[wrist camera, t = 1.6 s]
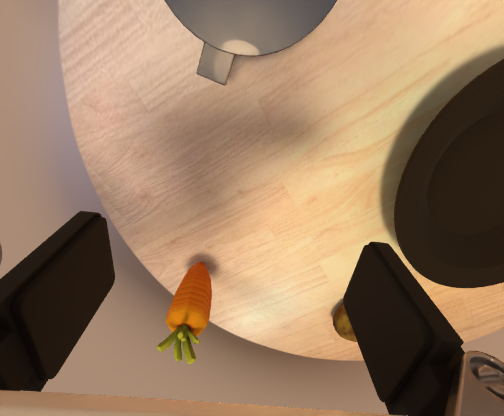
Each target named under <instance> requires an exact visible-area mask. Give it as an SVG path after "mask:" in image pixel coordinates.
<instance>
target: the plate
mask: <svg viewBox="0 0 504 416" xmlns="http://www.w3.org/2000/svg"><path fill="white" fill-rule="evenodd" d="M394 223H395V232H396V237H397V240H398V243H399V246H400V248H401V251H402V253H403V254H404V256H405V257H406V259H407V260H408V262H409V263H410V264H411V265H412V266H413V268H414V269H415V270H416V271H418V272H419V273H420V274H421V275H423V276H424V277H425V278H427V279H429V280H431V281H433V282H435V283H438V284H441V285H445V286H449V287H456V288H477V287H485V286H490V285H495V284H499V283H503V282H504V59H503V60H501V61H500V62H498V63H496V64H495V65H493V66H491V67H490V68H489V69H487V70H486V71H484V72H483V73H482V74H480V75H479V76H477V77H476V78H475V79H474V80H472V81H471V82H470V83H469V84H468V85H466V86H465V87H464V88H463V89H462V90H461V91H460V92H459V93H458V94H457V95H455V96H454V97H453V98H452V99H451V100H450V101H449V103H448V104H447V105H446V106H445V107H444V108H443V109H442V110H441V111H440V112H439V114H438V115H437V116H436V117H435V119H434V120H433V121H432V122H431V124H430V125H429V127H428V128H427V129H426V131H425V132H424V134H423V135H422V137H421V138H420V140H419V142H418V143H417V145H416V147H415V148H414V150H413V152H412V154H411V156H410V158H409V160H408V162H407V165H406V167H405V169H404V172H403V174H402V177H401V181H400V184H399V187H398V191H397V196H396V202H395V211H394Z"/></svg>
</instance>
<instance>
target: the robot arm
mask: <svg viewBox="0 0 504 416" xmlns="http://www.w3.org/2000/svg"><path fill="white" fill-rule="evenodd" d="M114 280H115V273H114V267H113V260H112V254H111V247H110V240H109V234H108V228H107V221H106V219H105V218H103V217H102V216H101V214H99V213H95V212H85V211H80V212H79V213H77V214H76V215H75V216H74V217H73V218H71V219H70V220H69V221H68V222H67V223H65V225H63V226H62V227H61V228H60V229H59V230H57V231H56V232H55V233H54V234H53V235H52V236H50V237H49V238H48V239H47V240H46V241H45V242H43V243H42V244H41V245H40V246H39V247H38V248H36V249H35V250H34V251H33V252H32V253H30V254H29V255H28V256H27V257H26V258H24V259H23V260H22V261H21V262H20V263H19V264H17V265H16V266H15V267H14V268H13V269H12V270H10V271H9V272H8V273H7V274H6V275H5V276H3V277H2V278H1V279H0V416H400V415H403V416H407V415H408V416H504V363H503V362H501V361H500V360H498V359H497V358H495V357H493V356H491V355H488V354H486V353H483V352H479V351H468V352H467V353H465V352H464V351H463V349H462V348H461V345H462V344H463V343H464V342H463V341H462V339H461V338H460V337H459V335H458V334H457V333H456V331H455V330H454V329H453V327H452V326H451V325H450V323H449V322H448V321H447V320H446V318H445V317H444V316H443V314H442V313H441V312H440V310H439V309H438V308H437V306H436V305H435V304H434V303H433V301H432V300H431V299H430V297H429V296H428V295H427V293H426V292H425V291H424V289H423V288H422V287H421V285H420V284H419V283H418V282H417V280H416V279H415V278H414V276H413V275H412V274H411V272H410V271H409V270H408V268H407V267H406V266H405V265H404V263H403V262H402V261H401V259H400V258H399V257H398V255H397V254H396V253H395V251H394V250H393V249H392V247H391V246H390V245H389V244H387V243H380V242H370V243H369V244H368V245H365V246H364V248H363V250H362V252H361V255H360V257H359V260H358V262H357V265H356V267H355V270H354V272H353V275H352V277H351V280H350V282H349V285H348V287H347V290H346V293H345V295H344V298H343V304H344V308H345V311H346V313H347V316H348V319H349V321H350V324H351V326H352V329H353V332H354V334H355V337H356V340H357V342H358V345H359V347H360V350H361V353H362V355H363V358H364V361H365V363H366V365H367V368H368V371H369V374H370V376H371V379H372V382H373V384H374V387H375V389H376V392H377V395H378V397H379V399H380V400H381V401H382V402H385V404H386V407H387V409H388V412H389V414H377V413H363V412H348V411H335V410H321V409H307V408H293V407H278V406H264V405H248V404H233V403H218V402H201V401H188V400H172V399H156V398H138V397H122V396H106V395H90V394H89V395H88V394H72V393H52V392H41V390H42V389H43V387H44V385H45V384H46V382H47V381H48V379H53V378H54V377H55V376H56V375H57V373H58V372H59V370H60V369H61V367H62V365H63V364H64V362H65V361H66V359H67V358H68V356H69V354H70V353H71V351H72V349H73V348H74V346H75V345H76V343H77V341H78V340H79V338H80V337H81V335H82V334H83V332H84V331H85V329H86V327H87V326H88V324H89V322H90V321H91V319H92V318H93V316H94V315H95V313H96V311H97V310H98V308H99V306H100V305H101V303H102V302H103V300H104V298H105V297H106V296H107V294H108V292H109V291H110V289H111V288H112V286H113V284H114ZM20 390H23V391H20ZM27 391H28V392H27ZM29 391H38V392H29Z"/></svg>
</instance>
